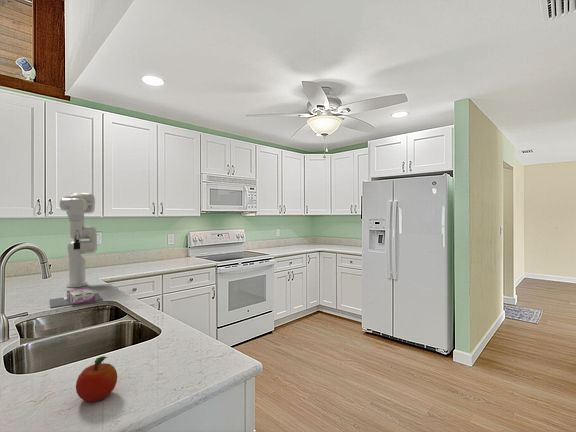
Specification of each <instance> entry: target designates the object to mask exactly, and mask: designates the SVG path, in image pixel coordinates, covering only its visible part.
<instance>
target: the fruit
mask: <svg viewBox="0 0 576 432" xmlns="http://www.w3.org/2000/svg"><path fill="white" fill-rule="evenodd" d="M106 359H108V357H107V356H100V357H99V356H98V357H97V358H96V359H95V360H94V364H91V365H89V366H87V367H85V368H84V369H83V370H82V371H81V372H80V374H79V375H78V376H77V380H76V383H75V392H76V394H77V396H78V397H79V398H80V399H81V400H82V401H84V402H88V403H89V402H90V403H91V402H98V401H100V400H103V399H105V398H106V397H108V396H109V395H110V394H111V393H112V392H113V390H114V389H115V387H116V385H117V383H118V372H117V369H116V367H115V366H113V365H112V364H110V363H103V362H104V360H106Z"/></svg>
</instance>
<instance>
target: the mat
mask: <svg viewBox="0 0 576 432" xmlns="http://www.w3.org/2000/svg"><path fill="white" fill-rule="evenodd" d="M101 301H103V297H102V296H101V295H100V294H99V292H95V301H89V302H83V303H77V304H71V303H70V301H69V300H68V299H67V296H62V297H56V298H50V299H49V305H50V309H54V308H55V309H56V308H61V307H67V306H73V305H74V306H75V305H80V304H81V305H82V304H89V303H94V302H101Z"/></svg>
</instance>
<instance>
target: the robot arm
mask: <svg viewBox="0 0 576 432" xmlns="http://www.w3.org/2000/svg"><path fill="white" fill-rule="evenodd" d="M95 205H96V198H95V195H94V194H93V193H91V192H74V193H71V194H70V195H67V196H63V197H61V198H60V200H59V208H60V210H61V211H62V212H66V215H67V217H68V222H69V236H70V239H72V240H73V241H70V242H69V243H68V244H67V253H68V254H67V255H68V272H69V273H68V279H69V281H68V282H69V283H68V284H66V287H67V288H80V287H84V286H88V285H89V283H88V281H86V259H85V258H84V257H83V256H82V255H87V254H95V253H97V251H98V233H97V229H96V227H95V226H91V225H85V214H93V213H94V212H95V209H96V208H95V207H96V206H95Z"/></svg>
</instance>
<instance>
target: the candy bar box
mask: <svg viewBox="0 0 576 432" xmlns="http://www.w3.org/2000/svg"><path fill="white" fill-rule="evenodd" d="M95 293H96V292H95V291H94V290H92V289H91V288H90V287H85V288H77V289H70V290H66V297H67V299H68V300H69V301H70V303H71V304H75V305H78V304H77V303H82V304H84V303H83V302H88V303H90V302H89V301H95ZM95 302H96V301H95Z"/></svg>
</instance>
